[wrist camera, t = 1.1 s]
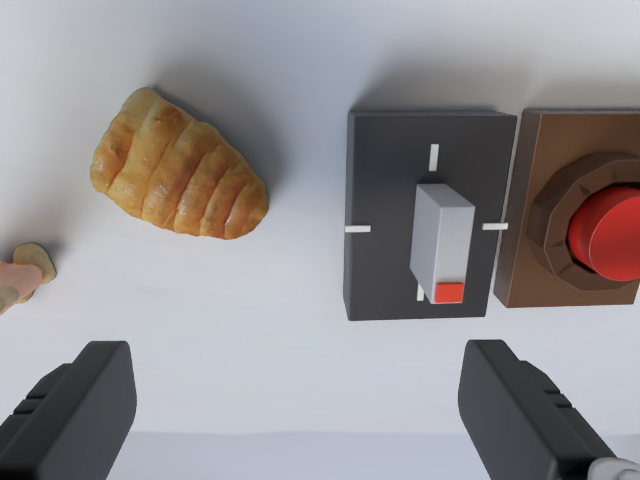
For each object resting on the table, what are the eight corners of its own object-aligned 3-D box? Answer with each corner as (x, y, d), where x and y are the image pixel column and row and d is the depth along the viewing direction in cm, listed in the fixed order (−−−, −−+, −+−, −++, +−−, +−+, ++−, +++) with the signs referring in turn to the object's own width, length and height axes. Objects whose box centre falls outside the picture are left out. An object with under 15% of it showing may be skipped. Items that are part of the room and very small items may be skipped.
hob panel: (341, 110, 25) (347, 116, 22) (499, 110, 25) (526, 116, 22) (337, 297, 29) (342, 323, 26) (472, 294, 30) (492, 318, 27)
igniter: (522, 110, 25) (562, 117, 22) (662, 109, 26) (724, 117, 22) (492, 293, 30) (521, 325, 26) (612, 290, 30) (657, 321, 27)
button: (577, 186, 24) (601, 195, 22) (663, 184, 24) (693, 194, 22) (559, 267, 25) (580, 282, 23) (639, 265, 26) (665, 280, 24)
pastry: (291, 165, 26) (290, 181, 22) (238, 256, 28) (230, 284, 24) (139, 77, 24) (112, 80, 20) (93, 183, 26) (61, 202, 22)
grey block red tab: (416, 183, 24) (442, 208, 19) (445, 183, 24) (478, 207, 19) (409, 268, 25) (432, 307, 21) (436, 267, 25) (464, 306, 21)
